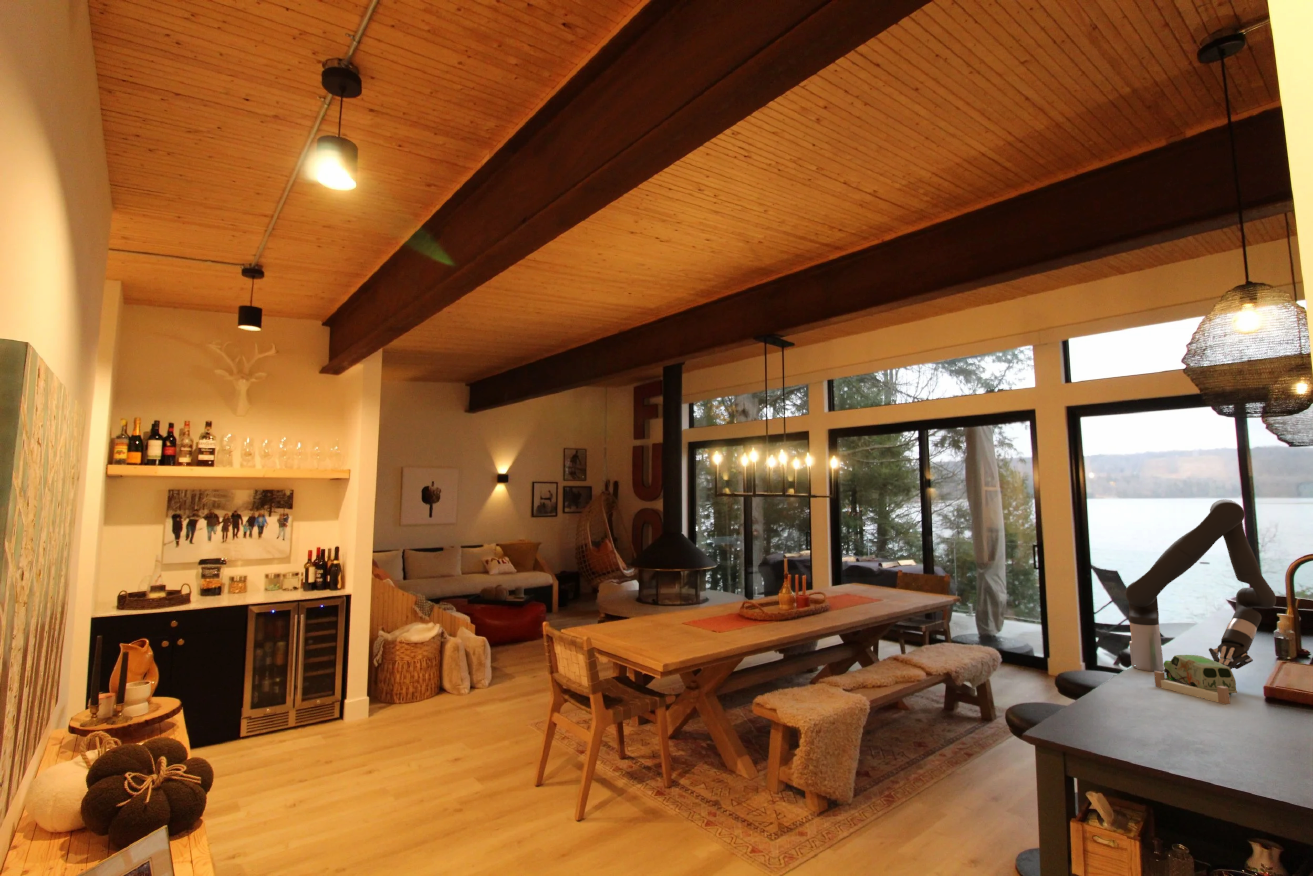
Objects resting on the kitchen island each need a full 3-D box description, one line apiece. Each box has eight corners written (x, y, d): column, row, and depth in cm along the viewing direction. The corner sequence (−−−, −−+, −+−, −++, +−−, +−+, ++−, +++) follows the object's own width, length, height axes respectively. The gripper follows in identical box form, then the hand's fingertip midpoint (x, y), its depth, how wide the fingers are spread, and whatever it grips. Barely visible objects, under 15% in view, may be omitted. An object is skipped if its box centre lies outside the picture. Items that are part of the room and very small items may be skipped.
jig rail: (1155, 686, 227) (1154, 671, 228) (1159, 685, 228) (1158, 671, 228) (1225, 704, 206) (1223, 688, 207) (1230, 703, 207) (1228, 687, 207)
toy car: (1196, 677, 236) (1193, 649, 236) (1240, 698, 212) (1236, 667, 212) (1162, 676, 238) (1159, 649, 239) (1202, 697, 214) (1199, 666, 215)
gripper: (1212, 625, 233) (1193, 664, 228) (1254, 631, 220) (1236, 673, 216) (1224, 638, 234) (1206, 677, 229) (1267, 645, 221) (1249, 687, 217)
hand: (1220, 675), depth 222 cm, fingers closed
